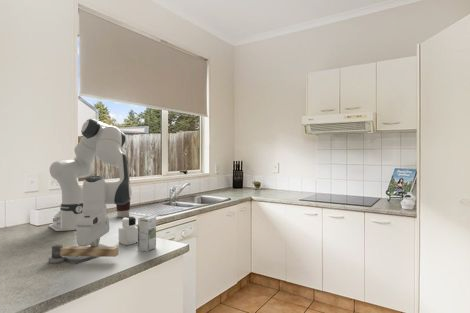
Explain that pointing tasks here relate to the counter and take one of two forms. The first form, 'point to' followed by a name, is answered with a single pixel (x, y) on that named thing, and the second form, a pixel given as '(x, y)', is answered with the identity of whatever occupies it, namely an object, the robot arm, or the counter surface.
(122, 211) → the coffee cup
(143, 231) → the syrup box
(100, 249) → the swing arm
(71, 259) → the label board
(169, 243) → the counter surface
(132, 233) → the medicine bottle
